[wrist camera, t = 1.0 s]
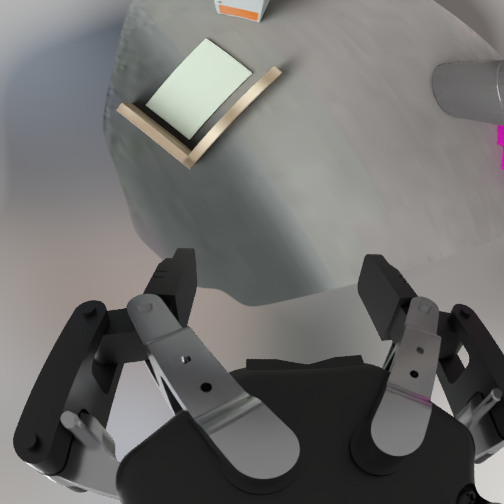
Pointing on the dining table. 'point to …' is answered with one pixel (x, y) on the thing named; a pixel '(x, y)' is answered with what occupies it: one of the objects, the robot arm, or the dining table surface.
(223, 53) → the mat
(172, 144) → the wooden angle bracket
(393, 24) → the dining table surface
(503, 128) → the magenta notched block
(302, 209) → the dining table surface
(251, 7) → the skincare box
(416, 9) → the dining table surface
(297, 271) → the dining table surface
